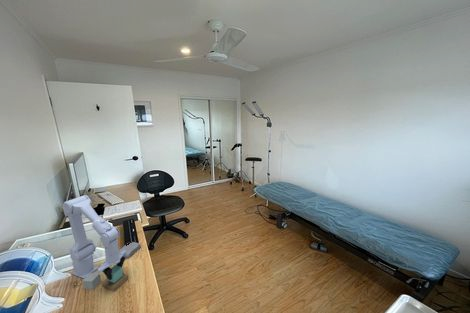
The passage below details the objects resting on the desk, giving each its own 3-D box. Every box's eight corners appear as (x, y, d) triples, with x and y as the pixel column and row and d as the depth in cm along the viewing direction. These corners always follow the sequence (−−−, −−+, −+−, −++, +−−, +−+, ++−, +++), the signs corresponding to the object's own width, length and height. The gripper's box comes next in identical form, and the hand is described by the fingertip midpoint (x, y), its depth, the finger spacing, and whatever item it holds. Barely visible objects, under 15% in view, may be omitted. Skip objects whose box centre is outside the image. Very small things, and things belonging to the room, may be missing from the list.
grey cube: (83, 289, 95) (82, 280, 94) (91, 280, 99) (90, 272, 98) (93, 289, 94) (91, 281, 93) (100, 281, 99) (99, 273, 98)
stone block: (115, 260, 117) (129, 259, 115) (113, 252, 116) (127, 252, 114) (129, 248, 128) (142, 247, 126) (128, 241, 128) (140, 240, 126)
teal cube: (107, 280, 96) (106, 271, 95) (116, 272, 101) (115, 264, 100) (114, 283, 95) (113, 274, 94) (123, 275, 99) (122, 267, 98)
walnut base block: (102, 287, 96) (102, 282, 95) (116, 275, 103) (116, 270, 103) (114, 292, 93) (113, 287, 93) (128, 279, 101) (127, 274, 100)
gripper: (103, 263, 87) (107, 288, 89) (130, 244, 100) (132, 266, 103) (93, 260, 89) (96, 284, 92) (120, 241, 102) (122, 263, 105)
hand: (114, 274), depth 97 cm, fingers closed on teal cube, 5 cm apart
